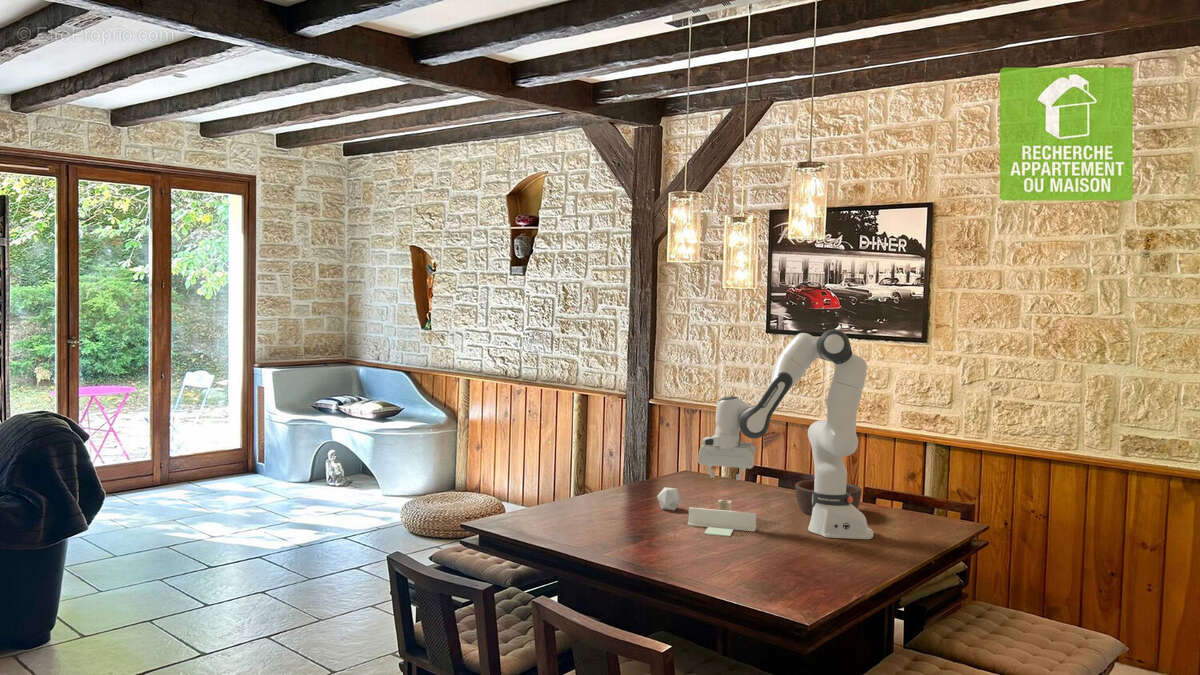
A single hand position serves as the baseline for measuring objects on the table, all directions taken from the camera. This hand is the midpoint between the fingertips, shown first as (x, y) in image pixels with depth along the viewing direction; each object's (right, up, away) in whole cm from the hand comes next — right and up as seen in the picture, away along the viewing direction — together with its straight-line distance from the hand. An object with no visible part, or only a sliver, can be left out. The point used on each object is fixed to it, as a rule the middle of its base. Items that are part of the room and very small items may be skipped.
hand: (725, 478), depth 330 cm
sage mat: (-4, -17, -13) cm, 22 cm away
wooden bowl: (+43, -17, +22) cm, 51 cm away
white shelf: (-2, -17, -6) cm, 18 cm away
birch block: (0, -16, +1) cm, 16 cm away
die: (-19, -15, +20) cm, 31 cm away
